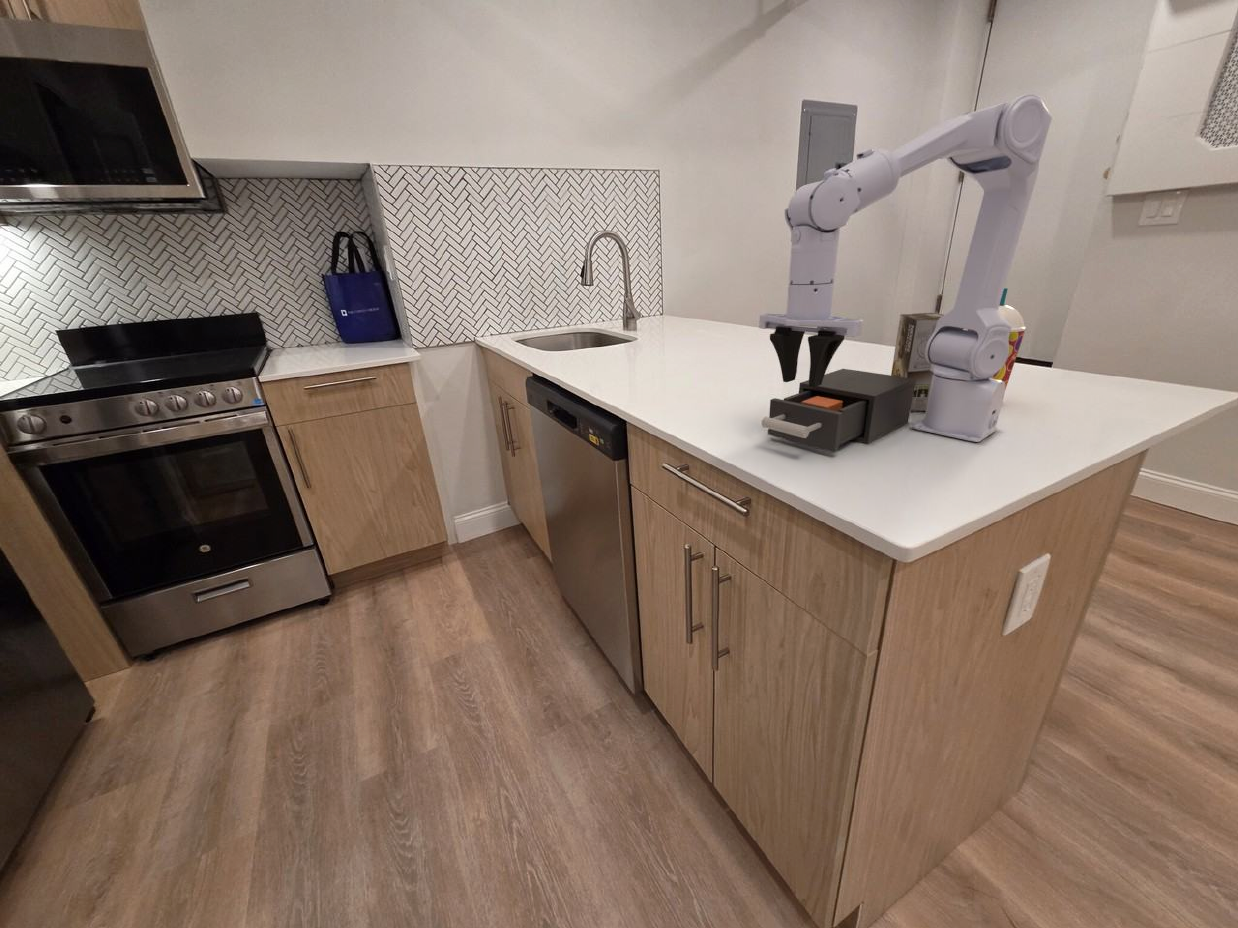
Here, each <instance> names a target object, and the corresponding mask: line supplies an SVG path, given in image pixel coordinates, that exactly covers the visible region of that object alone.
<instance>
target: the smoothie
mask: <svg viewBox="0 0 1238 928" xmlns="http://www.w3.org/2000/svg"><path fill="white" fill-rule="evenodd" d="M1007 295H1008V288H1007V287H1006V288H1005V287H1004V290H1003V294H1002V297H1001V301H1000V304H999V307H998V312H999V313H1000V314H1001V315H1002V316H1003V317H1004V319H1005V320H1006V321H1007V322H1008V323H1009V324H1010V326H1011V331H1010V334H1009V354H1008V358H1007V360H1006V362H1005V364H1004V365H1003V367H1002V368H1001V369H1000V370H999V371H998V372H997V373H996V374H994V375H993V378H992V379H995V380H1001V381H1004V382H1005V391H1007V386H1008V383H1009V380H1010V377H1011V375H1012V372H1013V368H1014V365H1015V363H1016V359H1017V356H1018V354H1019V351H1020V348H1021V344H1022V342H1023V339H1024V337H1025V336H1024V335H1025V331H1026V330H1027V326H1026V325H1025V319H1024V317H1023V316H1022V314H1021V313H1020V311H1019V310H1017V309H1016V308H1014V307H1012V306H1010V305H1006V304H1005V301H1006V298H1007ZM967 331H973V332H976V331H974V330H972V329H967Z"/></svg>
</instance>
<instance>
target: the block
mask: <svg viewBox="0 0 1238 928" xmlns="http://www.w3.org/2000/svg"><path fill="white" fill-rule="evenodd" d="M842 403H843V401H840V400H834V399H829V398H824V397H819V396H816V397H813V398H810V399H808V400H805V401H802V402H801V404H805V405H809V406H814V407H819V408H824V409H828V410H833V411H838V410H840V409H842Z"/></svg>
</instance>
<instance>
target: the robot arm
mask: <svg viewBox="0 0 1238 928" xmlns="http://www.w3.org/2000/svg"><path fill="white" fill-rule="evenodd" d="M1052 119H1053V117H1052V115H1051V113H1050V112H1049V109H1048V108H1047V106H1046V104H1045V103H1044V101H1043V99H1042V98H1041V97H1040V96H1039V95H1038V94H1035V93H1026V94H1022V95H1020V96H1017V97H1015V98H1014V99H1010V100H1007V101H1003V102H1001V103H997V104H995V105H992V106H991V105H990V106H988V107H985V108H981V109H978V110H974V111H967V112H964V113H961V114H960V115H958V116H955V117H953V118H950V119H946V120H944V121H942V122H940V123H939V124H937V125H935V126H933V127H932V128H930V129H928V130H927V131H925V132H924V133H922V134H920V135H918V136H917V137H915V138H913V139H911V140H910V141H908V142H906V143H905V144H903V145H902V146H900V147H898V148H896V149H895V150H893V151H889V150H887V149H885V148H876V149H873V147H868V148H865V149H863V150H861V151H858V152H857V153H856V159H855V160H854V161H852V162H849V163H847V164H846V165H844V166H842V167H841V168H839V169H837V168H836V167H834V168H830V169H828V170H826V171H824V172H823V179H821V180H819V181H816V182H811V183H808V184H804V185H802V186H800V187H799V188H798V189H796V190H795V191H794V195H792V196H791V198H790V200H789V202H788V206H787V208H785V209H784V219H785V223H786V225H787V226H788V228H789V230H790V234H791V235H790V242H791V248H790V259H789V273H788V288H787V289H788V290H787V301H786V313H763V314H759V321H758V323H759V324H758V328H759V329H762V330H766V329H771V330H774V332H772V333H769V340H770V342H771V344H772V346H773V349H774V350H775V353H776V356H777V358H778V362H779V366H780V371H781V376H782V382H783V383H790V382H792V381H795V380H796V378H797V372H798V362H799V355H800V350H801V345H802V342H803V339H804V335H805V333H815V334H813V335H810V336H807V342H808V348H809V358H810V359H809V374H808V380H809V386H810V387H816V386H819V385H821V384H822V381H823V378H824V375H825V374H826V372H827V369H828V368H829V364H830V363H831V361H832V359H833V357H834V355H835V353H837V351H838V349H839V347H840V346H841V344H843V342H844V340H845V338H846V337H850V338H855V337H859V336H861V335H862V331H863V324H864V320H863V319H857V318H847V317H840V316H834V315H832V306H833V296H834V288H835V287H834V285H835V278H836V269H837V260H838V259H837V258H838V250H839V240H840V231H841V228H843V227H844V226H845V225H846V224H847V222H848V221H849V220H850V218H851V216H853V215H855V214H857V213H858V212H860V211H862V210H864V209H866V208H868V207H869V206H872V205H873V204H875V203H877V202H878V201H881V200H882V199H885V198H886V197H888V196H890V195H891V194H892V193H894V192H895V190H896V188H897V186H898V184H899V181H900V178H903V177H905V176H907V175H909V174H912V173H913V172H915V171H917V170H920V169H921V168H923V167H925V166H927V165H929V164H931V163H933V162H935V161H938V160H943V159H944V160H945V159H946V161H947V162H948V163H949V164H950V165H951V166H953V167H954V168H955V169H956V170H959V171H960V172H962V173H963V174H965V175H966V176H967V177H969V178H970V179H972V180H973V181H975V182H977V183H978V184H979V186H980V187H981V188H982V190H983V196H982V199H981V202H980V207H979V210H978V215H977V218H976V222H975V225H974V229H973V234H972V237H971V241H970V244H969V249H968V253H967V257H966V260H965V263H964V268H963V272H962V275H961V278H960V283H959V286H958V291H957V294H956V298H955V302H954V304H953V305H954V306H953V308H952V309H950V310H949V311H948V312H946V313H945V314H943V315H944V316H942V317H941V318H940V319H939V320H938V321H937V325H936V328H935V331H934V333H933V334H932V336H931V337H930V339H929V340H928V342H927V345H926V348H925V357H926V360H927V361H928V363H929V364H930V365H931V368H930V371H932V372H933V376H932V382H931V387H930V392H929V397H928V402H927V407H926V411H925V413H924V417H923V420H921V421H919V422H917V423H916V424H913V425H912V429H914V430H917V431H922V432H926V433H927V432H928V433H932V434H936V435H940V436H946V437H951V438H954V439H960V440H965V441H969V442H974V443H979V442H981V441H983V440H984V439H986V438H987V437H988V436H990V435H992V434H993V433H995V432H996V431H997V430H998V427H997V425H998V421H999V417H1000V413H1001V409H1002V405H1003V400H1004V397H1005V394H1006V393H1005V392H1006V390H1005V382H1004V381H1001V380H995V379H992V378H993V375H994V374H996V373H997V372H998V371H999V370H1000V369H1001V368H1002V367H1003V365H1004V364H1005V362H1006V360H1007V358H1008V354H1009V334H1010V331H1011V326H1010V324H1009V323H1008V322H1007V321H1006V320H1005V319H1004V317H1003V316H1002V315H1001V314H1000V313H999V312H998V307H999V305H1000V301H1001V297H1002V294H1003V290H1004V288H1005V286H1006V284H1007V280H1008V277H1009V273H1010V270H1011V266H1012V263H1013V260H1014V257H1015V253H1016V249H1017V246H1018V242H1019V239H1020V237H1021V232H1022V229H1023V226H1024V222H1025V219H1026V216H1027V212H1028V209H1029V205H1030V202H1031V199H1032V196H1033V193H1034V189H1035V186H1036V182H1037V178H1038V173H1039V167H1040V160H1041V157H1042V153H1043V151H1044V146H1045V143H1046V139H1047V136H1048V133H1049V130H1050V125H1051V123H1052ZM968 329H972V330H974V331H976V332H973V331H968ZM816 333H817V334H816ZM845 336H846V337H845Z"/></svg>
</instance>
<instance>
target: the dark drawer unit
mask: <svg viewBox="0 0 1238 928" xmlns="http://www.w3.org/2000/svg"><path fill="white" fill-rule="evenodd" d="M915 382H916V379H912V378H905V377H898V376H891V374H884V373H876V372H871V371H870V372H869V371H862V370H856V369H849V368H841V369H838V370H837V369H836V370H835V371H831V372H829V373H825V375H824V378H823V381H822V384H821V385H819V386H816V387H810V386H809V379H808V380H804V381H801V382H799V385H798V393H801V392H804V391H807V390H816V391H821V392H827V393H832V394H838V395H843V396H849V397H854V398H859V399H865V400H869V405H868V412H867V419H866V425H865V432H864V433H863V434H861V435H859V436H857V437H855V438H853V439H851V440H850V441H853V442H854V441H855V442H858V443H863V444H867V445H868V444H871V443H873V442H875V441H877V440H878V439H880V438H882V437H884V436H886V435H888V434H890V433H892V432H894V431H896V430H898V429H900V428H902V427H904V426H905V425H907V424H909V421H910V416H911V415H910V414H911V411H910V410H911V404H912V399H913V393H914V388H915Z"/></svg>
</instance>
